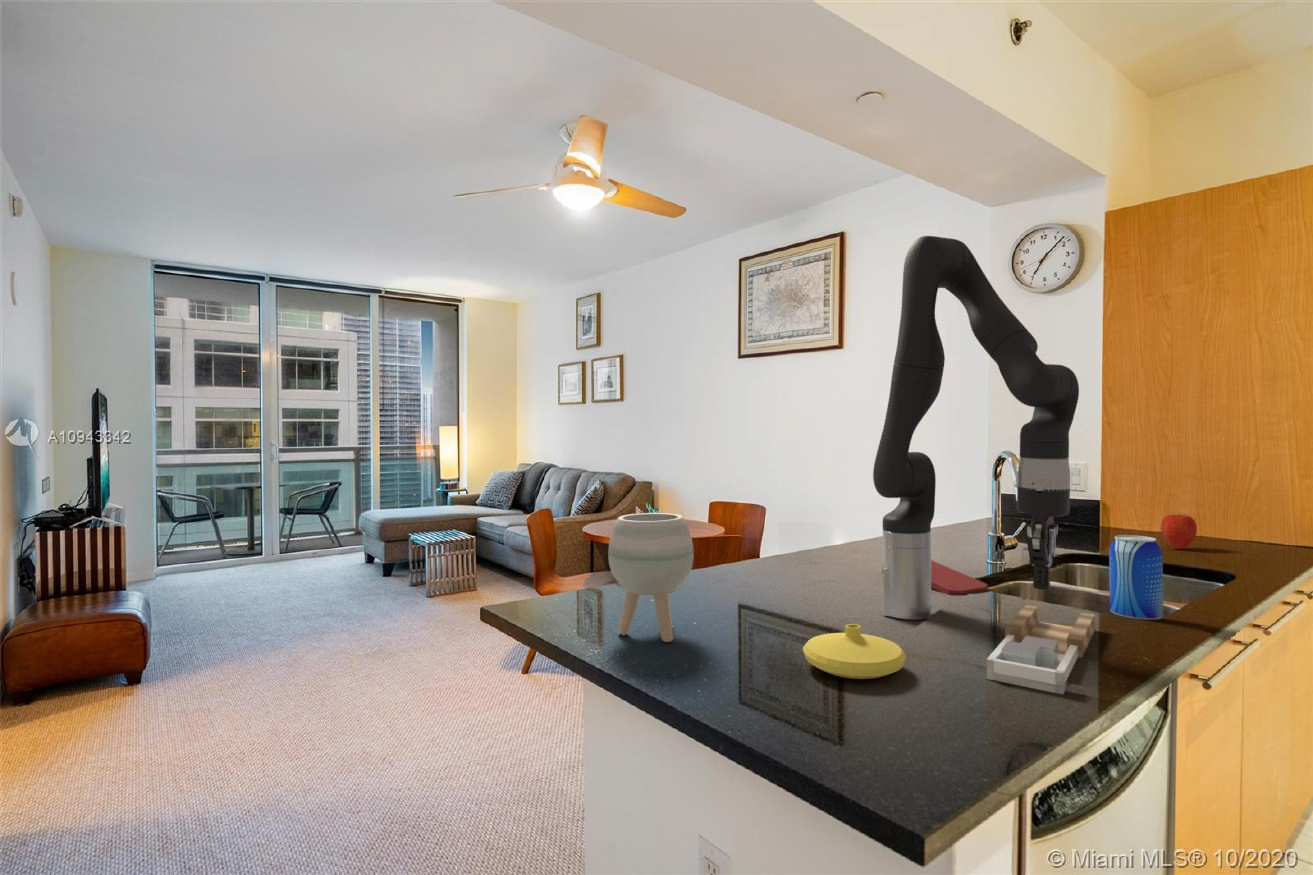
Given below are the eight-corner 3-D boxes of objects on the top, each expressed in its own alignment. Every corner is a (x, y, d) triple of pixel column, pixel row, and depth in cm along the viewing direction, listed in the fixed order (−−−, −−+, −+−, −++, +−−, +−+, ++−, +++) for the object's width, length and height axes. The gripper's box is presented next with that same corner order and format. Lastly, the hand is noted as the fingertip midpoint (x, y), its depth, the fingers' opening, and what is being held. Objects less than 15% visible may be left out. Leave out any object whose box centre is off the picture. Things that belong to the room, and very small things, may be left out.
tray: (1008, 651, 111) (1008, 634, 111) (1078, 664, 105) (1077, 645, 105) (986, 678, 100) (986, 659, 100) (1063, 694, 93) (1063, 673, 93)
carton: (990, 606, 154) (911, 570, 176) (992, 586, 153) (913, 552, 176) (951, 612, 149) (875, 574, 172) (953, 592, 148) (877, 556, 171)
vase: (795, 653, 113) (794, 612, 113) (888, 652, 112) (887, 611, 112) (813, 690, 97) (812, 642, 97) (921, 689, 96) (921, 641, 96)
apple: (1171, 551, 193) (1170, 515, 193) (1154, 546, 202) (1154, 511, 202) (1204, 552, 192) (1203, 515, 192) (1185, 547, 200) (1185, 511, 200)
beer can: (1148, 628, 122) (1147, 542, 122) (1101, 617, 130) (1100, 536, 130) (1172, 621, 126) (1171, 538, 126) (1124, 611, 134) (1123, 533, 134)
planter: (592, 636, 124) (589, 518, 124) (650, 617, 136) (648, 509, 136) (654, 655, 113) (652, 525, 113) (712, 632, 125) (710, 515, 125)
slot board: (1025, 626, 125) (1025, 605, 125) (1094, 636, 118) (1094, 614, 118) (1005, 651, 111) (1005, 627, 111) (1081, 665, 104) (1081, 640, 104)
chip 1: (1008, 659, 104) (1007, 641, 104) (1040, 665, 101) (1040, 646, 101) (1001, 668, 101) (1001, 648, 101) (1035, 674, 98) (1034, 654, 98)
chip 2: (1026, 654, 106) (1026, 635, 106) (1058, 659, 104) (1058, 641, 104) (1020, 662, 103) (1020, 643, 103) (1053, 668, 100) (1053, 648, 100)
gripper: (1025, 480, 116) (1023, 576, 117) (1009, 487, 106) (1007, 593, 107) (1075, 482, 111) (1073, 583, 112) (1063, 490, 101) (1061, 601, 102)
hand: (1041, 588), depth 109 cm, fingers closed
